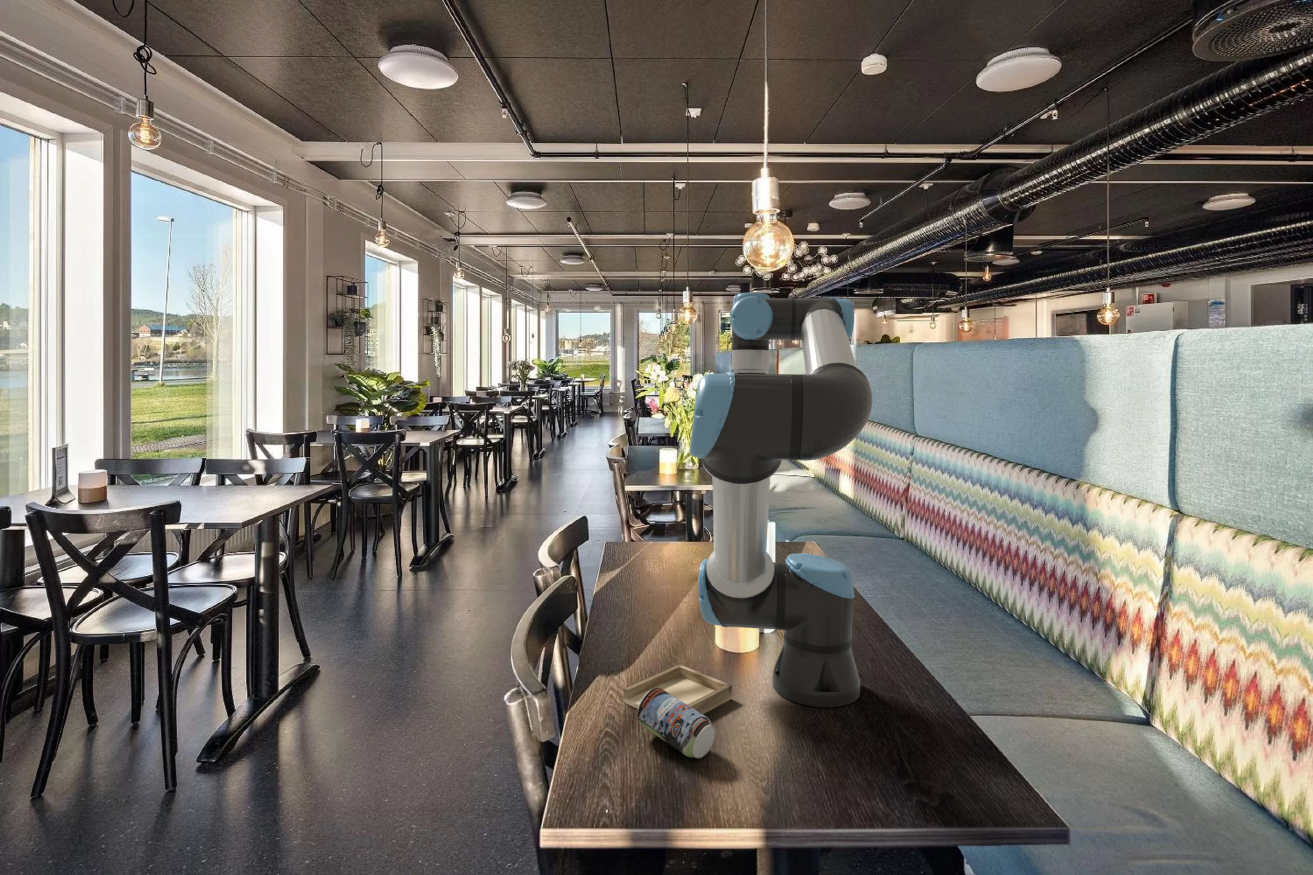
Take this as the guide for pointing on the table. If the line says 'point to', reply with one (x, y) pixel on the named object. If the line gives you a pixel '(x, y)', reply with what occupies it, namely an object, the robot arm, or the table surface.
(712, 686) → the beige tray
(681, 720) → the beverage can
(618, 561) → the table surface
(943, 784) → the table surface
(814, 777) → the table surface
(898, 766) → the table surface
